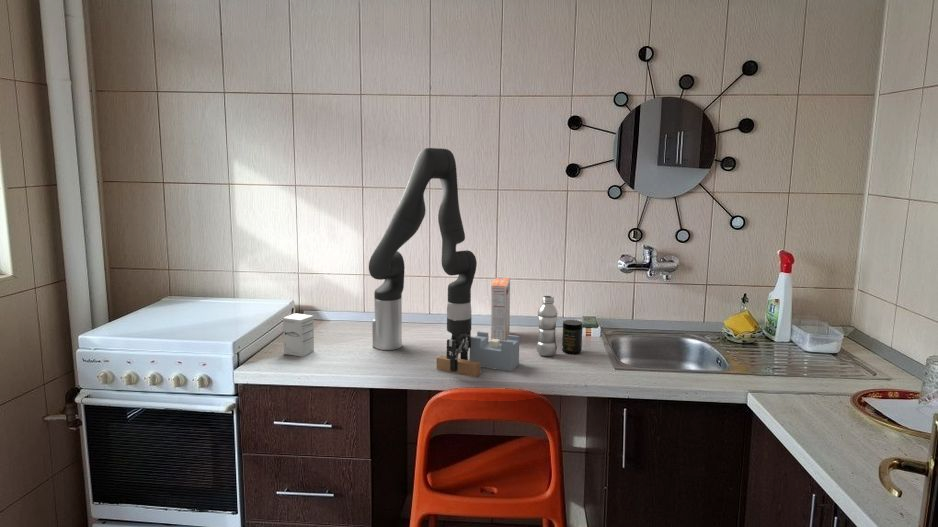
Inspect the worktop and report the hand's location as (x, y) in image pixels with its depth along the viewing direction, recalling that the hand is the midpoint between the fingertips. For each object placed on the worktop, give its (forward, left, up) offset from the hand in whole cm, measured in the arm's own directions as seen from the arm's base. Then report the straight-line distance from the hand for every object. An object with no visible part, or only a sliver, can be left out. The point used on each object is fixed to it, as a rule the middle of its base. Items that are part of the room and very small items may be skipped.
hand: (459, 367), depth 212 cm
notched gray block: (+8, +11, -1) cm, 14 cm away
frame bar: (0, 0, -2) cm, 2 cm away
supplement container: (+28, +34, -2) cm, 44 cm away
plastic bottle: (+21, +27, -2) cm, 34 cm away
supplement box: (-56, -3, -2) cm, 56 cm away
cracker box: (0, +41, -2) cm, 41 cm away
